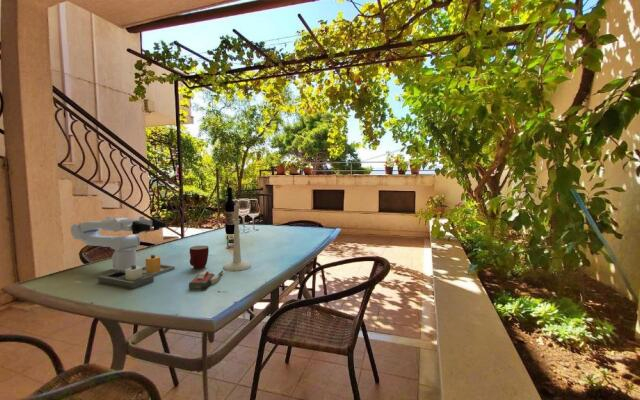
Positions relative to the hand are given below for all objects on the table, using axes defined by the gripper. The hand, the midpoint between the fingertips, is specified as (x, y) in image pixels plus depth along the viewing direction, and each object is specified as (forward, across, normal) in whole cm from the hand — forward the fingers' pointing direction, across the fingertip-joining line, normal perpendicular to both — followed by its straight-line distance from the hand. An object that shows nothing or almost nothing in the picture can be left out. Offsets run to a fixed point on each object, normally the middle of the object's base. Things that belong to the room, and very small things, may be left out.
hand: (157, 226), depth 129 cm
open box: (-3, -13, +21) cm, 25 cm away
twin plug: (+2, -13, +21) cm, 24 cm away
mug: (+10, +12, +22) cm, 27 cm away
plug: (-5, +1, +20) cm, 21 cm away
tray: (-5, +1, +21) cm, 22 cm away
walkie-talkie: (+25, +1, +22) cm, 34 cm away
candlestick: (+24, +22, +22) cm, 39 cm away
